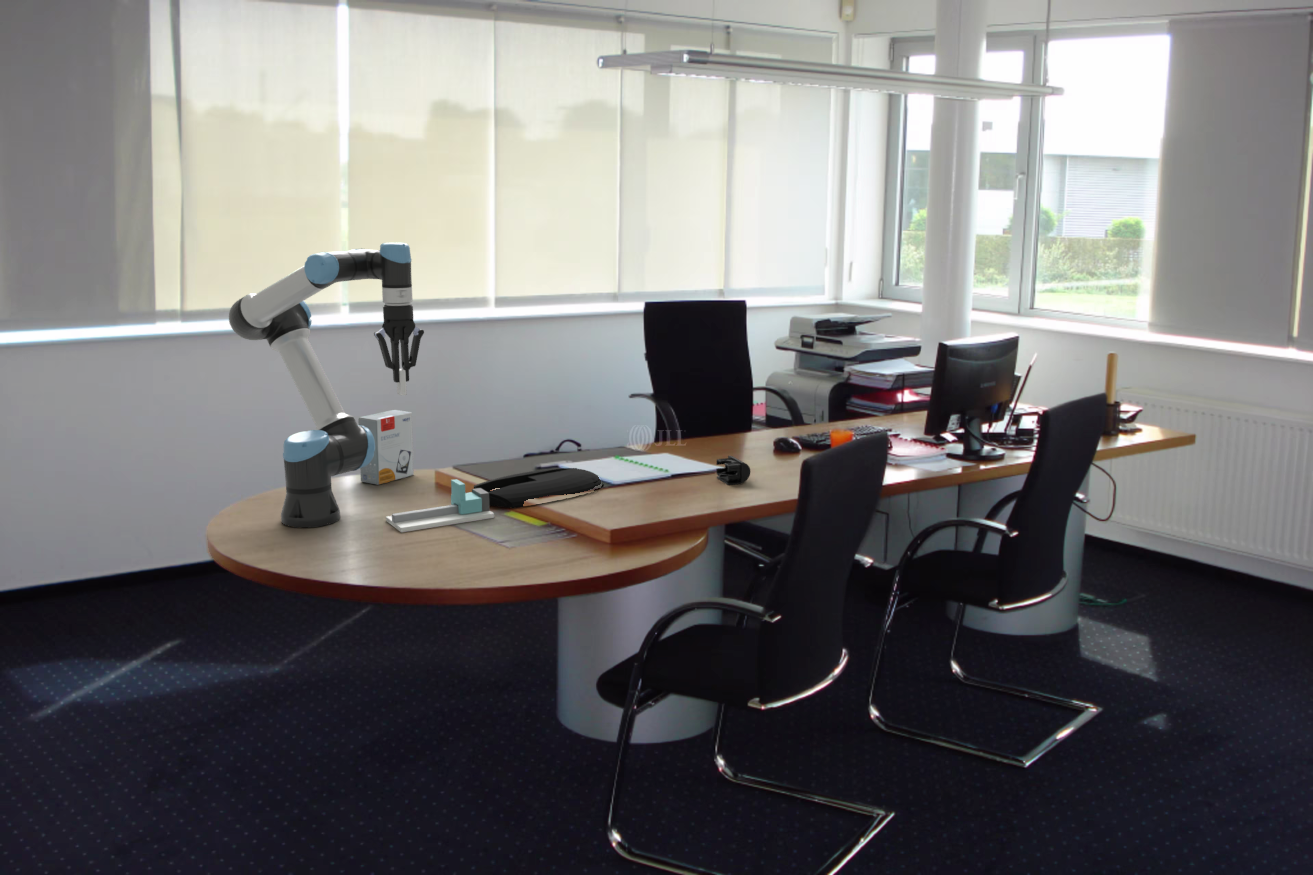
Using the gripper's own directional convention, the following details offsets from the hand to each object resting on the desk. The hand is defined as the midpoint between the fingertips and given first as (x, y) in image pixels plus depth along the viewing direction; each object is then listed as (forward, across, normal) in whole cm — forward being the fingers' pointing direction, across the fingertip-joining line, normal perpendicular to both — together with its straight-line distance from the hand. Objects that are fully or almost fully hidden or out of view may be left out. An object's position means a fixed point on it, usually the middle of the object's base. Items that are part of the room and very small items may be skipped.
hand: (402, 394), depth 309 cm
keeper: (+33, +16, -3) cm, 37 cm away
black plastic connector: (+35, +99, -10) cm, 105 cm away
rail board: (+34, +8, -3) cm, 35 cm away
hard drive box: (+35, +10, +46) cm, 58 cm away
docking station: (+35, +44, +10) cm, 57 cm away
